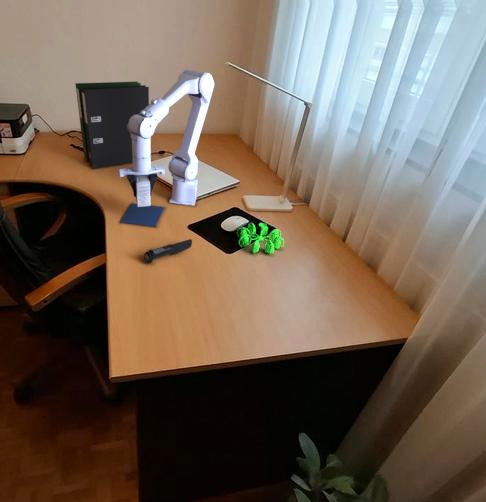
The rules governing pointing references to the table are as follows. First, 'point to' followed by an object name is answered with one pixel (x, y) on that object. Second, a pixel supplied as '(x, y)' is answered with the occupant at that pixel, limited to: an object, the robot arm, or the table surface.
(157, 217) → the cloth
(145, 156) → the robot arm
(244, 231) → the green cluster
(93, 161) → the binder
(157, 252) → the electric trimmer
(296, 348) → the table surface
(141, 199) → the medicine box
